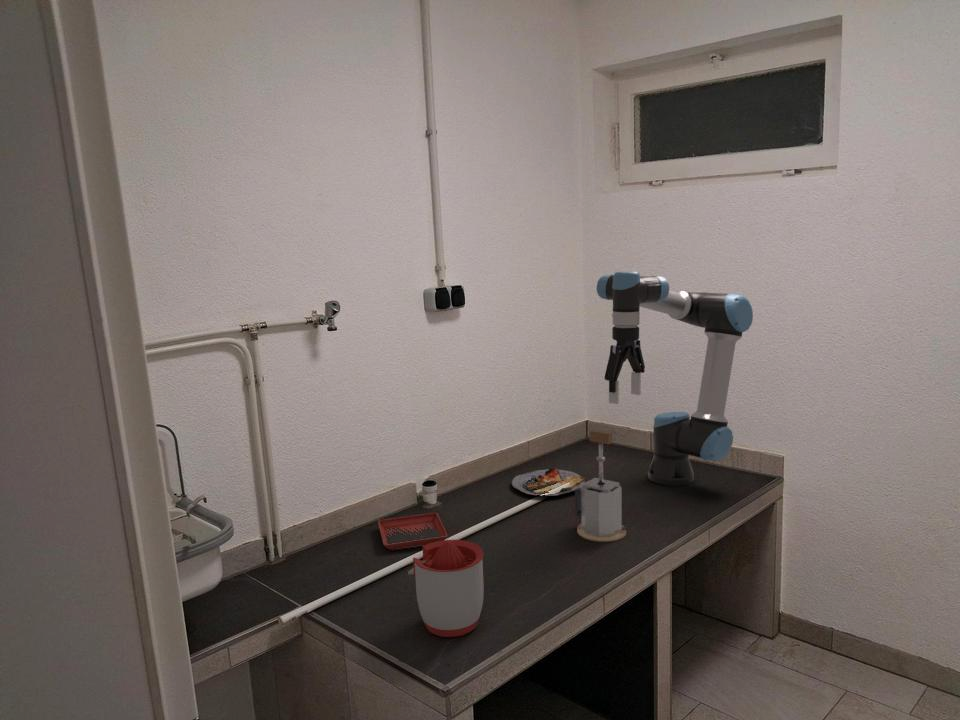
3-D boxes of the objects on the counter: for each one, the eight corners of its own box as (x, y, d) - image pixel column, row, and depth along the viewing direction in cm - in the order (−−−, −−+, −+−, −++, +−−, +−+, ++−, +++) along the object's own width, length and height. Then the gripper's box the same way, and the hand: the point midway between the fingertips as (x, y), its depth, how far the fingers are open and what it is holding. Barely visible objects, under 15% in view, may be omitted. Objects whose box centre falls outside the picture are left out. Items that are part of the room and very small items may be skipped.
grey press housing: (589, 517, 221) (588, 471, 218) (634, 529, 212) (634, 481, 209) (564, 533, 210) (563, 485, 208) (611, 546, 201) (611, 496, 198)
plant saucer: (384, 555, 202) (383, 544, 201) (378, 530, 219) (377, 519, 218) (448, 546, 206) (448, 535, 205) (437, 522, 223) (437, 512, 222)
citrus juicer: (424, 602, 175) (420, 523, 171) (494, 611, 170) (491, 530, 166) (398, 637, 160) (393, 552, 157) (474, 648, 155) (470, 560, 151)
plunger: (596, 489, 214) (596, 426, 210) (618, 494, 209) (617, 430, 206) (584, 496, 208) (583, 432, 205) (606, 501, 204) (605, 436, 200)
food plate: (557, 469, 265) (557, 460, 264) (599, 488, 245) (599, 478, 245) (499, 486, 252) (499, 476, 252) (539, 507, 233) (538, 497, 232)
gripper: (633, 320, 220) (633, 389, 224) (592, 330, 201) (591, 405, 204) (657, 321, 215) (655, 392, 219) (616, 332, 196) (616, 409, 200)
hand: (625, 398), depth 212 cm, fingers open, 13 cm apart
